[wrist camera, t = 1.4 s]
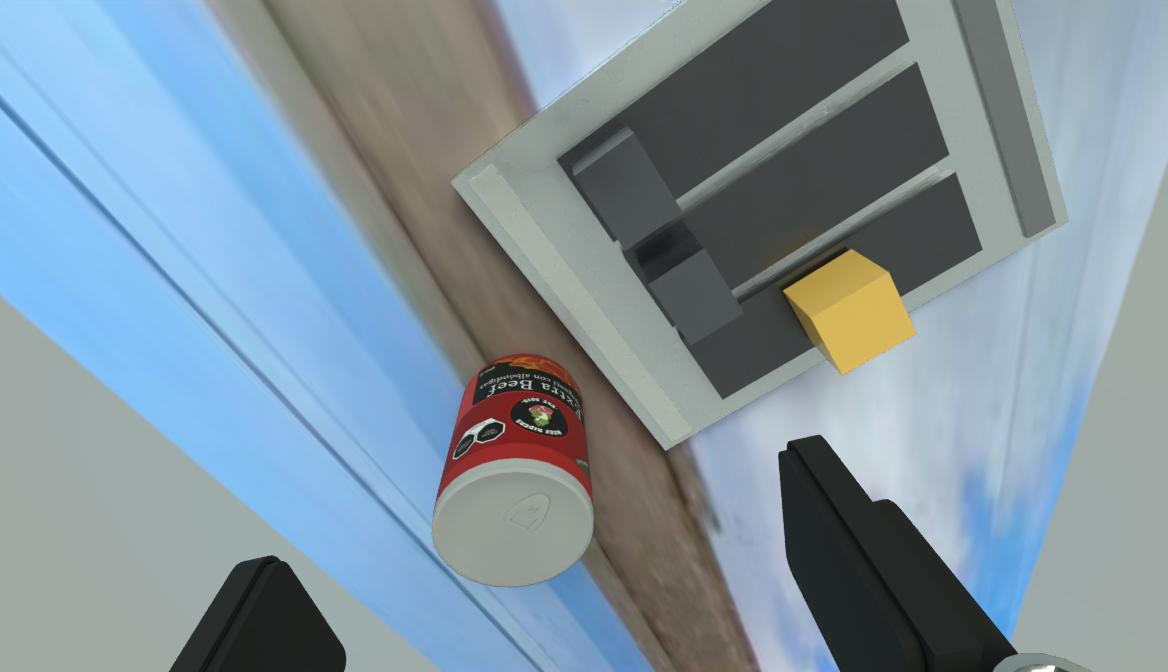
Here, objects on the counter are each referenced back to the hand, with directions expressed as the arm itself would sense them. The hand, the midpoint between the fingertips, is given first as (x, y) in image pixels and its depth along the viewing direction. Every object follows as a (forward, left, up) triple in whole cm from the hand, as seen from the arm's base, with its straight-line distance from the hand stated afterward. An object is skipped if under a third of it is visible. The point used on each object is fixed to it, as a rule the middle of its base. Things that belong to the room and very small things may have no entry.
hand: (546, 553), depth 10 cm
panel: (-11, +5, -23) cm, 26 cm away
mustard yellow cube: (-11, +11, -19) cm, 25 cm away
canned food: (+8, +8, -23) cm, 26 cm away
